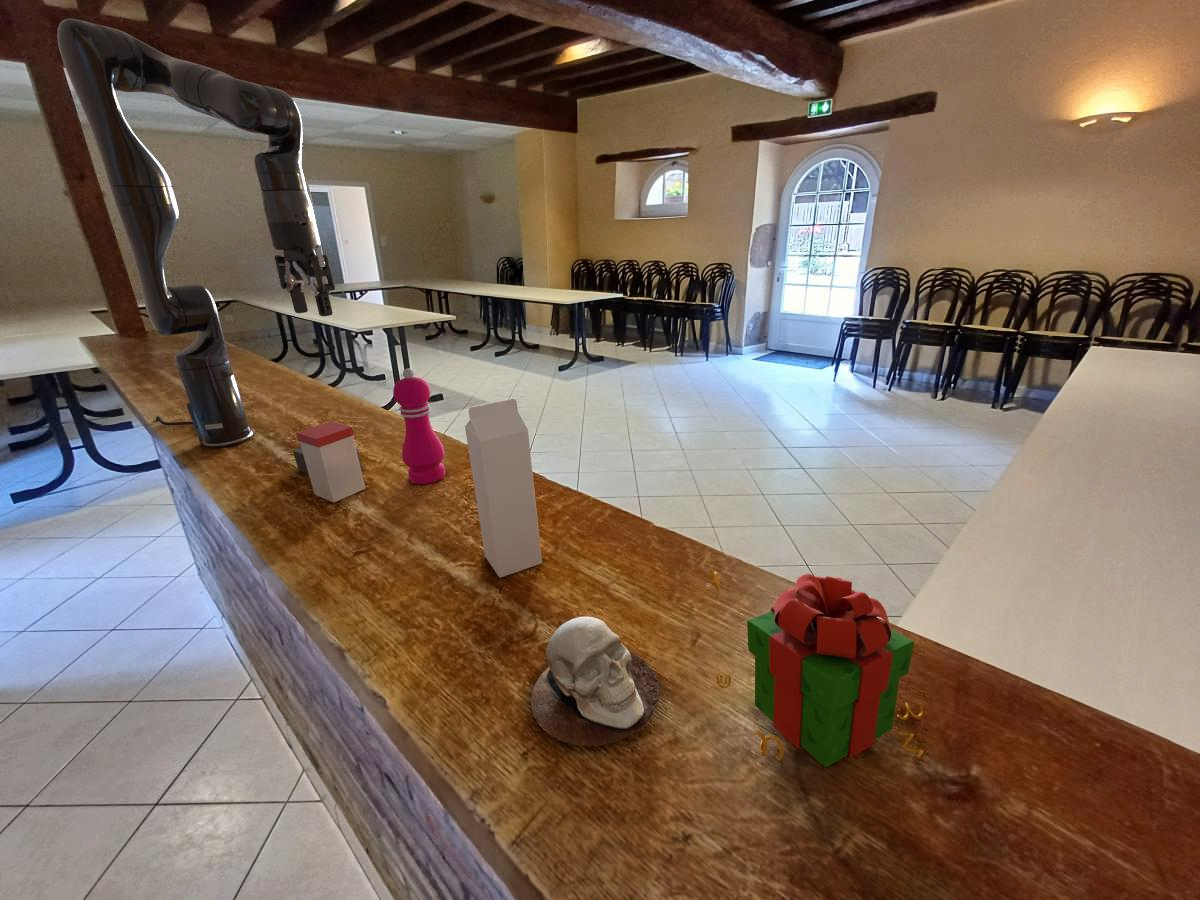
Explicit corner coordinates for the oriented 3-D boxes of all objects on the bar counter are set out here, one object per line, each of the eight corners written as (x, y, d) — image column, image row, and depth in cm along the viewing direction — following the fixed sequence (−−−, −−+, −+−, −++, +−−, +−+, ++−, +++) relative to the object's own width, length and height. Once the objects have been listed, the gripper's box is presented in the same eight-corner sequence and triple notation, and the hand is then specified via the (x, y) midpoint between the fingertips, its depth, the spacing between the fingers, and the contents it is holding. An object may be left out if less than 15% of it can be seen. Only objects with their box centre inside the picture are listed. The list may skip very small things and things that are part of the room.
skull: (695, 690, 50) (635, 662, 44) (629, 787, 49) (558, 774, 43) (617, 617, 60) (558, 585, 53) (560, 699, 59) (493, 676, 52)
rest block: (333, 483, 99) (327, 463, 97) (298, 469, 105) (292, 450, 104) (362, 471, 103) (358, 451, 102) (327, 458, 110) (322, 440, 108)
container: (354, 511, 95) (290, 485, 85) (334, 502, 99) (270, 476, 89) (387, 446, 98) (330, 414, 88) (367, 440, 102) (309, 409, 92)
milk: (542, 563, 73) (527, 404, 64) (498, 579, 70) (476, 415, 61) (524, 542, 77) (508, 392, 69) (483, 556, 75) (460, 401, 66)
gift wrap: (802, 644, 59) (809, 520, 56) (987, 768, 43) (1015, 604, 39) (644, 712, 51) (639, 571, 47) (801, 898, 35) (813, 705, 31)
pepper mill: (453, 468, 102) (436, 362, 95) (439, 485, 96) (419, 373, 88) (416, 468, 103) (396, 363, 96) (400, 485, 97) (376, 374, 89)
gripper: (249, 221, 97) (274, 315, 104) (290, 219, 89) (315, 320, 96) (291, 220, 103) (312, 309, 109) (333, 217, 95) (354, 313, 101)
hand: (313, 314), depth 102 cm, fingers open, 8 cm apart
